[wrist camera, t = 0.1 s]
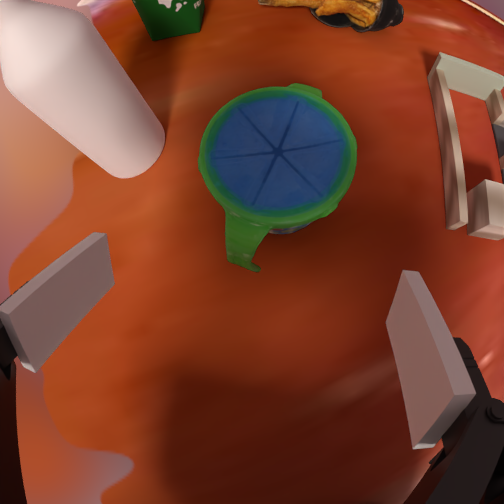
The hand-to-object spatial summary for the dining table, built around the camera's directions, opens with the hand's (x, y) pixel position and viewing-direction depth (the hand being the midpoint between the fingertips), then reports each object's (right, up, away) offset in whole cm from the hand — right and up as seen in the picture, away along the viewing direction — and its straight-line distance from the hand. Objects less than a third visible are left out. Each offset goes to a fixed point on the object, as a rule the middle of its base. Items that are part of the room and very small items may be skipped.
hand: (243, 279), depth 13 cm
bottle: (-13, +13, +20) cm, 27 cm away
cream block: (+25, +5, +14) cm, 29 cm away
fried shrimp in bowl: (+12, +33, +20) cm, 41 cm away
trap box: (+29, +12, +15) cm, 34 cm away
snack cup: (+3, +6, +17) cm, 18 cm away
